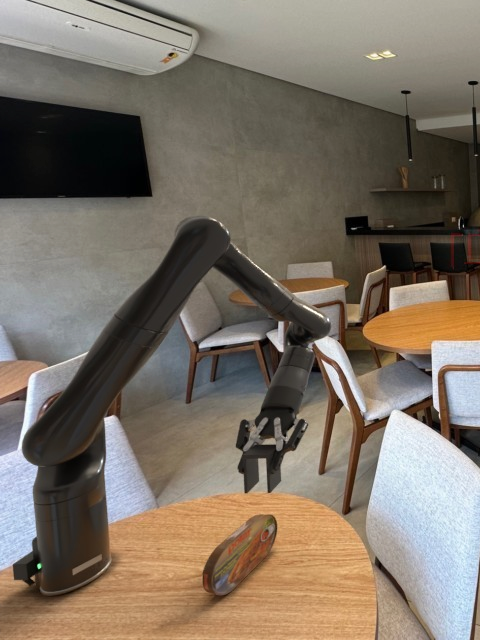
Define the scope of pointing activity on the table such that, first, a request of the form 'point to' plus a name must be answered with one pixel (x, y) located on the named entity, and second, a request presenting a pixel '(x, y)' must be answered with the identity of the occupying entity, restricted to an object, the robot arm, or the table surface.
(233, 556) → the tin
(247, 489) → the dark grey stool
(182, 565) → the table surface
